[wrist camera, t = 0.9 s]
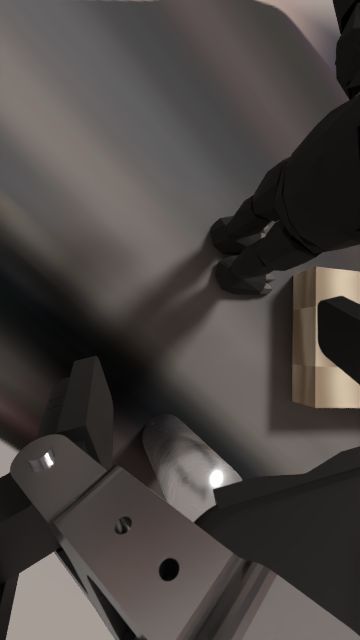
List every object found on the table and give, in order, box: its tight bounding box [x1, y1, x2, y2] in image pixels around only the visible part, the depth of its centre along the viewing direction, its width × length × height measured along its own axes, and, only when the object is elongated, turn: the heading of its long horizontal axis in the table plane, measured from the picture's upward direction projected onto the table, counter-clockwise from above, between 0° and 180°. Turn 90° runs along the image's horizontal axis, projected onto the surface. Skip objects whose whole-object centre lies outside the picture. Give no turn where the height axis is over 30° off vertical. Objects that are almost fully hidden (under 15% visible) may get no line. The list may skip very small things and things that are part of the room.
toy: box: [211, 0, 360, 294], centre depth 21 cm, size 30×8×30 cm, turn 7°
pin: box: [142, 414, 242, 522], centre depth 25 cm, size 4×4×14 cm
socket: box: [292, 267, 360, 408], centre depth 36 cm, size 14×14×4 cm
